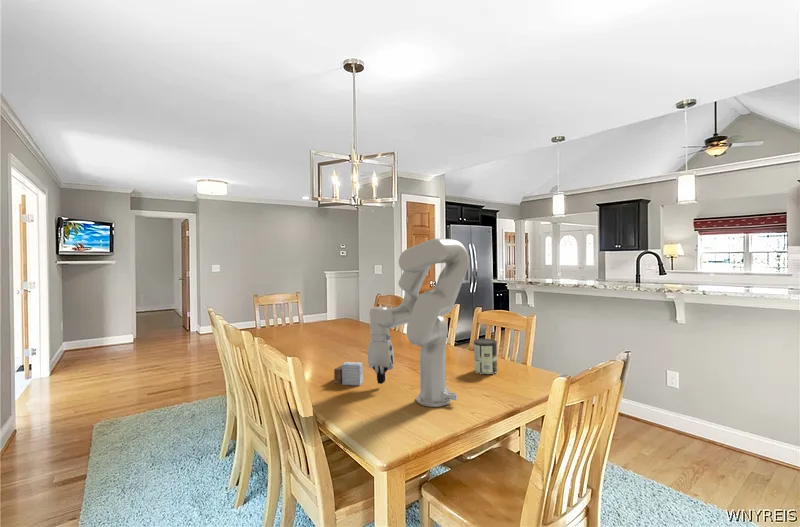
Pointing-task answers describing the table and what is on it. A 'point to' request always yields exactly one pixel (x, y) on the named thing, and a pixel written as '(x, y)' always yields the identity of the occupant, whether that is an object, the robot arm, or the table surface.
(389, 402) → the table surface
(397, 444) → the table surface
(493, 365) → the coffee can
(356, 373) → the medicine box
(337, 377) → the walnut block
